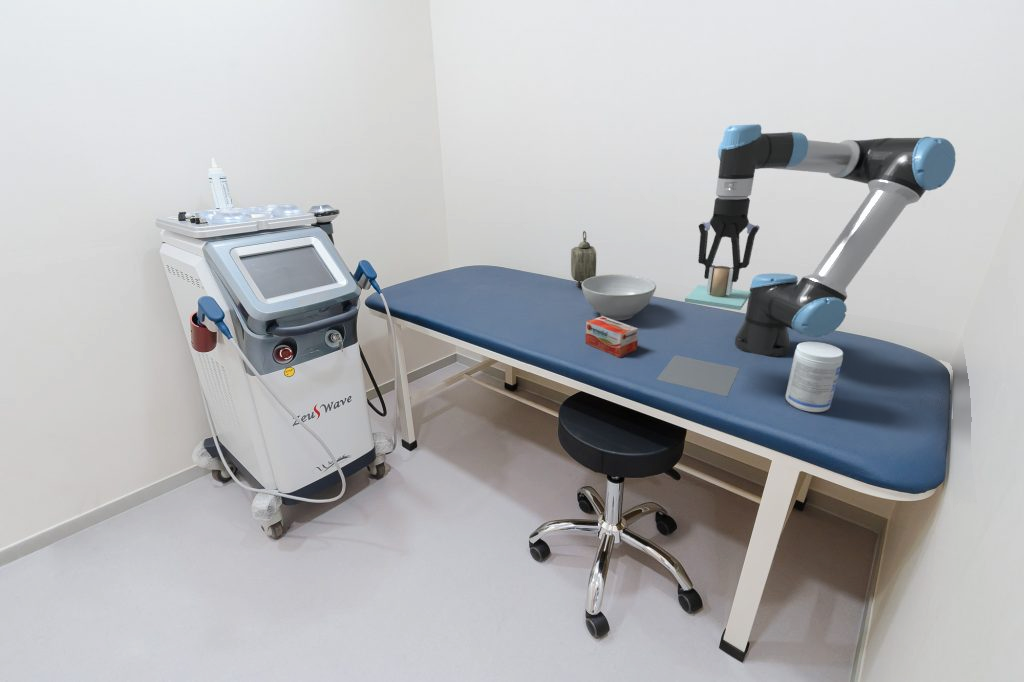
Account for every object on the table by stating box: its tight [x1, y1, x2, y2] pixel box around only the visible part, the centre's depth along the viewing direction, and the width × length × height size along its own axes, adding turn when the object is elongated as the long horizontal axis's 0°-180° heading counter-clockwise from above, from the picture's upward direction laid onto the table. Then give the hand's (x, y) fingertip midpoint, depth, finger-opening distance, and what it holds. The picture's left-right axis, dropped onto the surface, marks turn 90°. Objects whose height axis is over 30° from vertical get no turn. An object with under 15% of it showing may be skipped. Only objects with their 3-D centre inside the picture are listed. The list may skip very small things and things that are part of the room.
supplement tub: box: [785, 341, 844, 413], centre depth 111 cm, size 10×10×15 cm
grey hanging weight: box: [570, 230, 597, 288], centre depth 204 cm, size 14×9×25 cm, turn 1°
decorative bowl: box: [581, 274, 657, 321], centre depth 172 cm, size 27×27×12 cm
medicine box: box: [585, 316, 639, 358], centre depth 147 cm, size 15×8×8 cm, turn 38°
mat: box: [656, 354, 740, 397], centre depth 128 cm, size 18×18×1 cm
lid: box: [684, 265, 751, 311], centre depth 117 cm, size 13×13×8 cm
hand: (718, 292), depth 118 cm, fingers closed on lid, 4 cm apart
